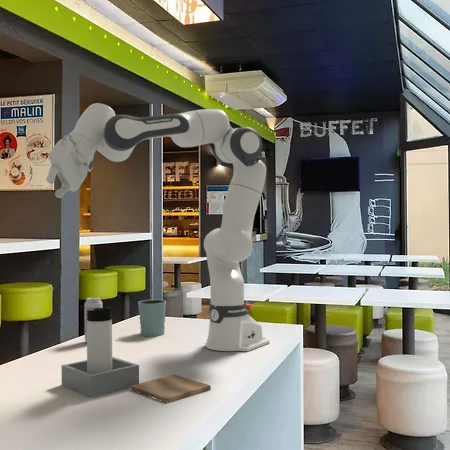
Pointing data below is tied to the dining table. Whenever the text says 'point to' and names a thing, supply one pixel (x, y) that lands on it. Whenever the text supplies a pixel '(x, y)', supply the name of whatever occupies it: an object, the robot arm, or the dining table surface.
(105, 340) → the travel mug
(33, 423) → the dining table surface
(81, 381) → the crate
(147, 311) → the teal cup
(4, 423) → the dining table surface
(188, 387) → the serving board
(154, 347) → the dining table surface
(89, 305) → the energy drink can
